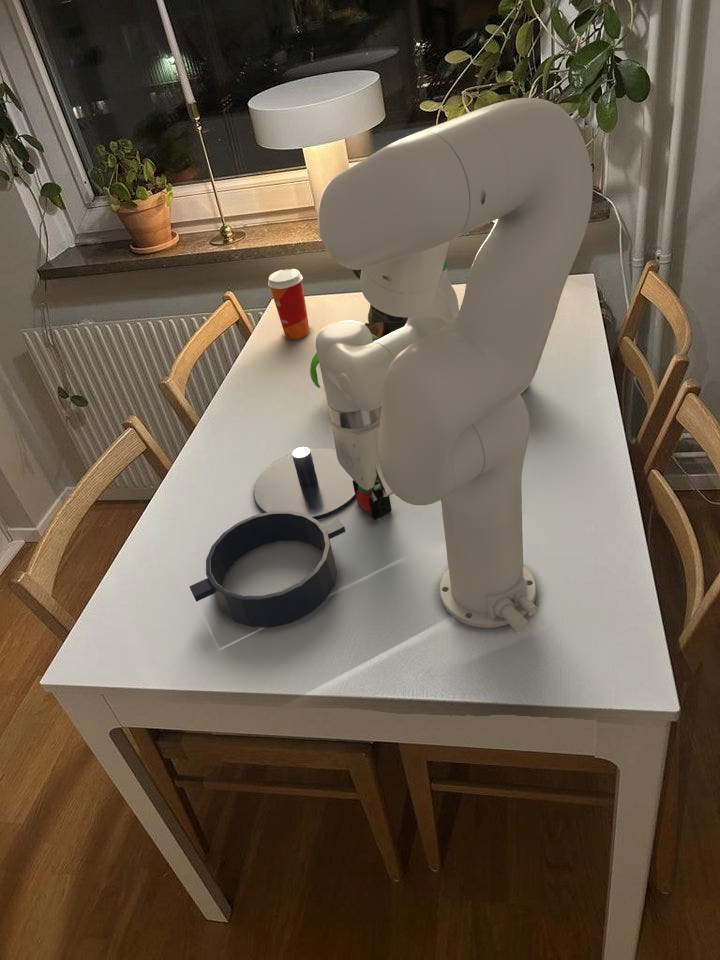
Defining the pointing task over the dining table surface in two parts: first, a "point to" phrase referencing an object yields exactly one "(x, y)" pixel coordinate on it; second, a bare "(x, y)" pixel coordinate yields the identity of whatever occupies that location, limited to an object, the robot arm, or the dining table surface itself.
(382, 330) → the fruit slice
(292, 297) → the paper cup
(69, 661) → the dining table surface
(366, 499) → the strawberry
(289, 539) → the pot
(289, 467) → the lid
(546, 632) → the dining table surface
